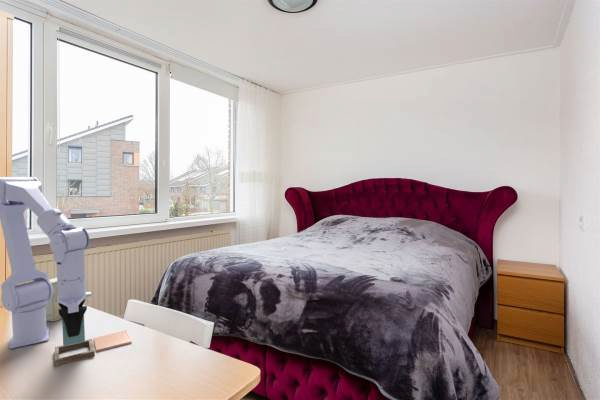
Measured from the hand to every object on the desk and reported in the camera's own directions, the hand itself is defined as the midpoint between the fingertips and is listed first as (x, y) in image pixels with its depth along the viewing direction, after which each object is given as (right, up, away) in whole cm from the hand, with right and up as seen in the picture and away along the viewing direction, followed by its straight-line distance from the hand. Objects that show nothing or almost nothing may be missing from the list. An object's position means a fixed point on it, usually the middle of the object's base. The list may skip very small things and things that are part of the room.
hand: (73, 332), depth 85 cm
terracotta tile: (+6, -5, +7) cm, 10 cm away
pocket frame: (0, -6, 0) cm, 6 cm away
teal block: (0, -2, 0) cm, 2 cm away
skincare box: (-20, -4, +23) cm, 31 cm away
